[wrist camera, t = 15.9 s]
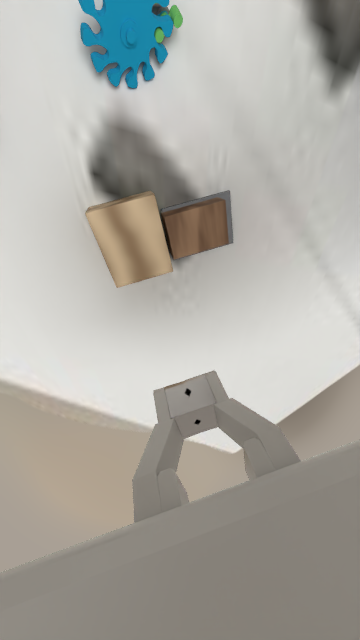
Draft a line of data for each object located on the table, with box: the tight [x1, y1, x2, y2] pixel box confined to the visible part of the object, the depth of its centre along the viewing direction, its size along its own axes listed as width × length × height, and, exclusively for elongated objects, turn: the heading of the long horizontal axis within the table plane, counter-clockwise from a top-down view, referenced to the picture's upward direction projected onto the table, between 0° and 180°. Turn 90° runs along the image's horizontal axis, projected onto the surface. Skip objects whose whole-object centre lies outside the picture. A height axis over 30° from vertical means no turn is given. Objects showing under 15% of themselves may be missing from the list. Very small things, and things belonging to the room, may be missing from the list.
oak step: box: [85, 191, 173, 288], centre depth 38 cm, size 10×12×5 cm
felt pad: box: [161, 190, 233, 260], centre depth 41 cm, size 12×9×1 cm
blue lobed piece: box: [78, 0, 183, 88], centre depth 25 cm, size 11×6×10 cm
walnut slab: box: [161, 197, 229, 260], centre depth 39 cm, size 4×7×10 cm
